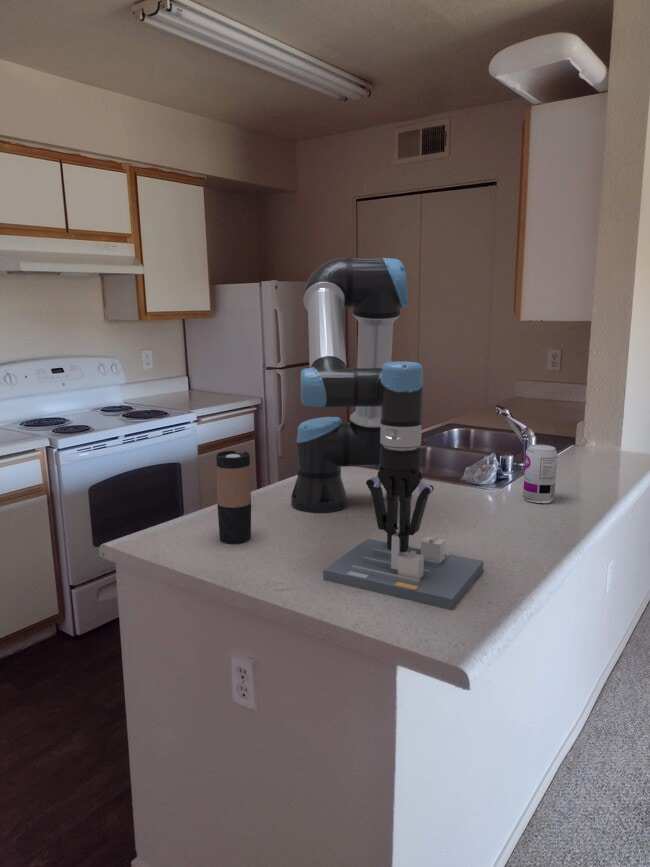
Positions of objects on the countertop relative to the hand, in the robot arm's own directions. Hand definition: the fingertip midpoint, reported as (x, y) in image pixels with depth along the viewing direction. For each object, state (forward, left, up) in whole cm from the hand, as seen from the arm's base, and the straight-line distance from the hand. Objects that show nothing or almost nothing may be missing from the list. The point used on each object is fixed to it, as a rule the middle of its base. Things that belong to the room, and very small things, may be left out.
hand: (397, 566), depth 124 cm
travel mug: (-42, +5, -4) cm, 43 cm away
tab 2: (+4, +10, -1) cm, 11 cm away
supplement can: (+12, +70, -4) cm, 71 cm away
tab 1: (+3, 0, -1) cm, 3 cm away
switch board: (0, +5, -4) cm, 6 cm away
